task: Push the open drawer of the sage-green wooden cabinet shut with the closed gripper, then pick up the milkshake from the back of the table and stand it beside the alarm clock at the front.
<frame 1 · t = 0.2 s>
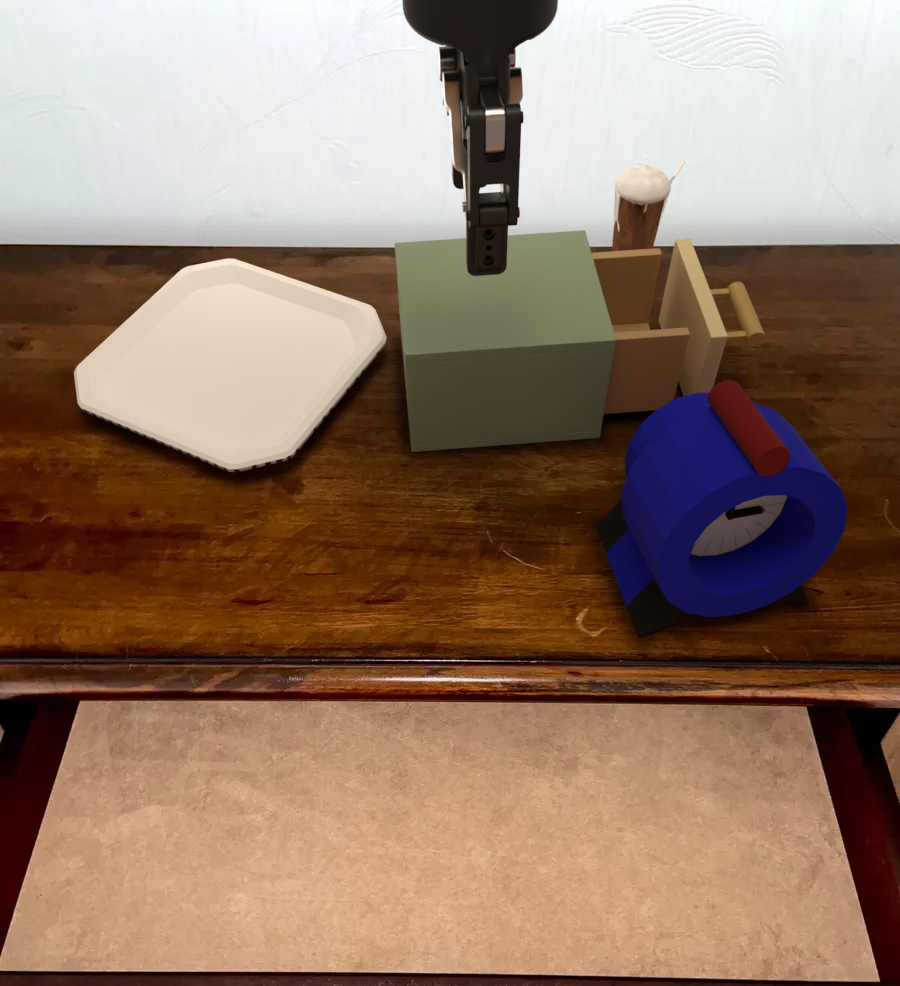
hand: (477, 226, 56), 20 cm above the table, tool pointing down, fingers open, 8 cm apart
cabinet: (496, 388, 76), on the table
alarm clock: (696, 558, 67), on the table
drawer: (638, 331, 73), point 5 cm above the table, slide at 7.0 cm
plate: (237, 374, 78), on the table
milkshake: (633, 269, 85), on the table
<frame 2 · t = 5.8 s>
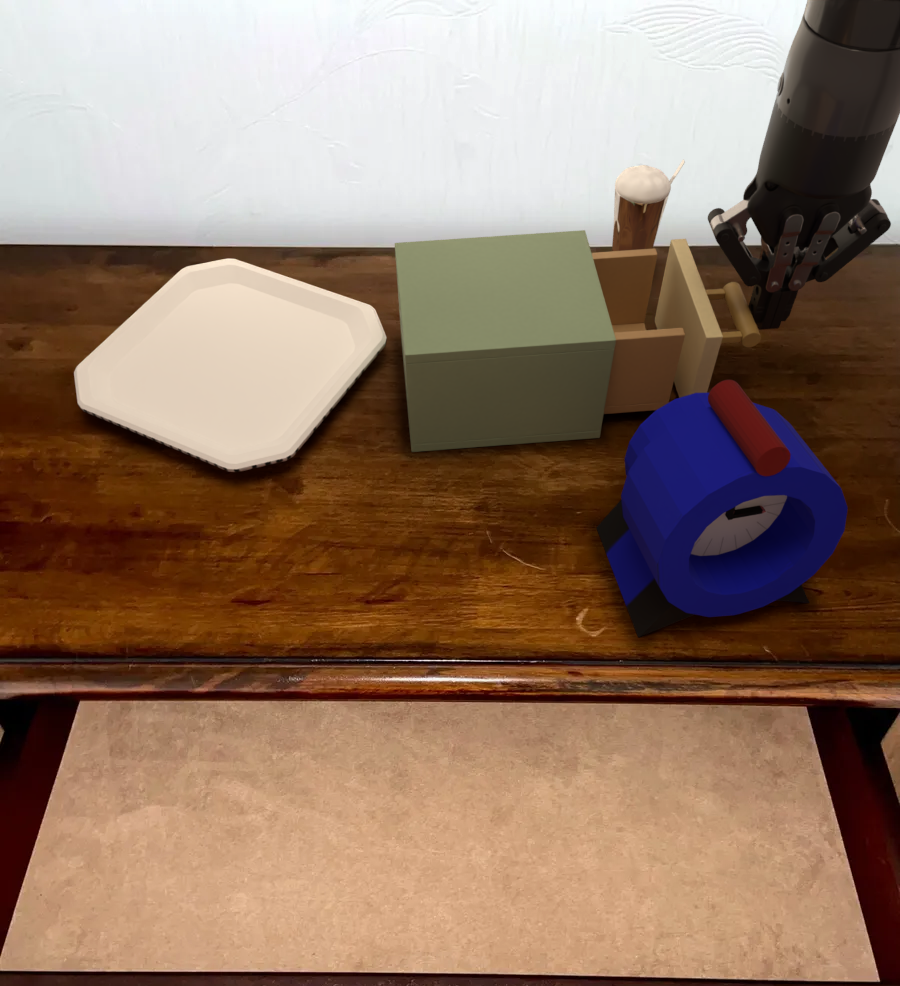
hand: (765, 322, 73), 5 cm above the table, tool pointing down, fingers closed
drawer: (633, 331, 73), point 5 cm above the table, slide at 6.6 cm, touching gripper
everything else where it was.
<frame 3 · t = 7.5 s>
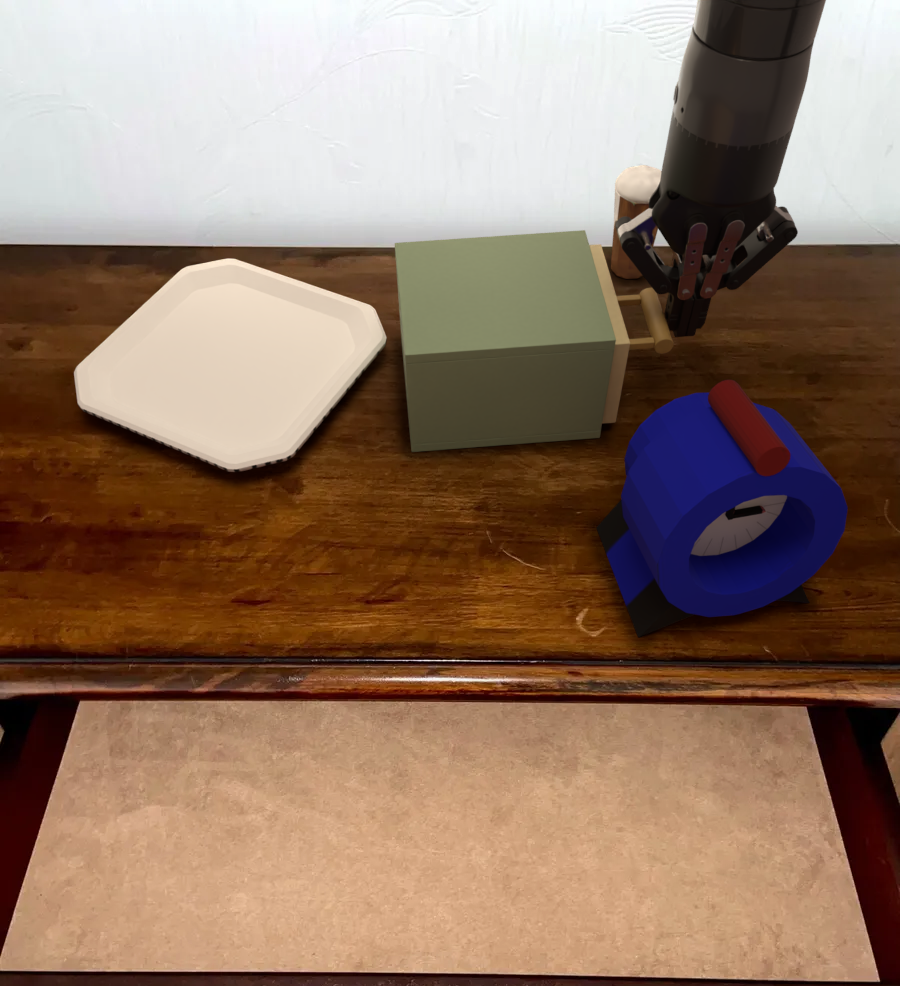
hand: (682, 329, 73), 5 cm above the table, tool pointing down, fingers closed
drawer: (548, 337, 73), point 5 cm above the table, slide at 0.0 cm, touching gripper
everything else where it was.
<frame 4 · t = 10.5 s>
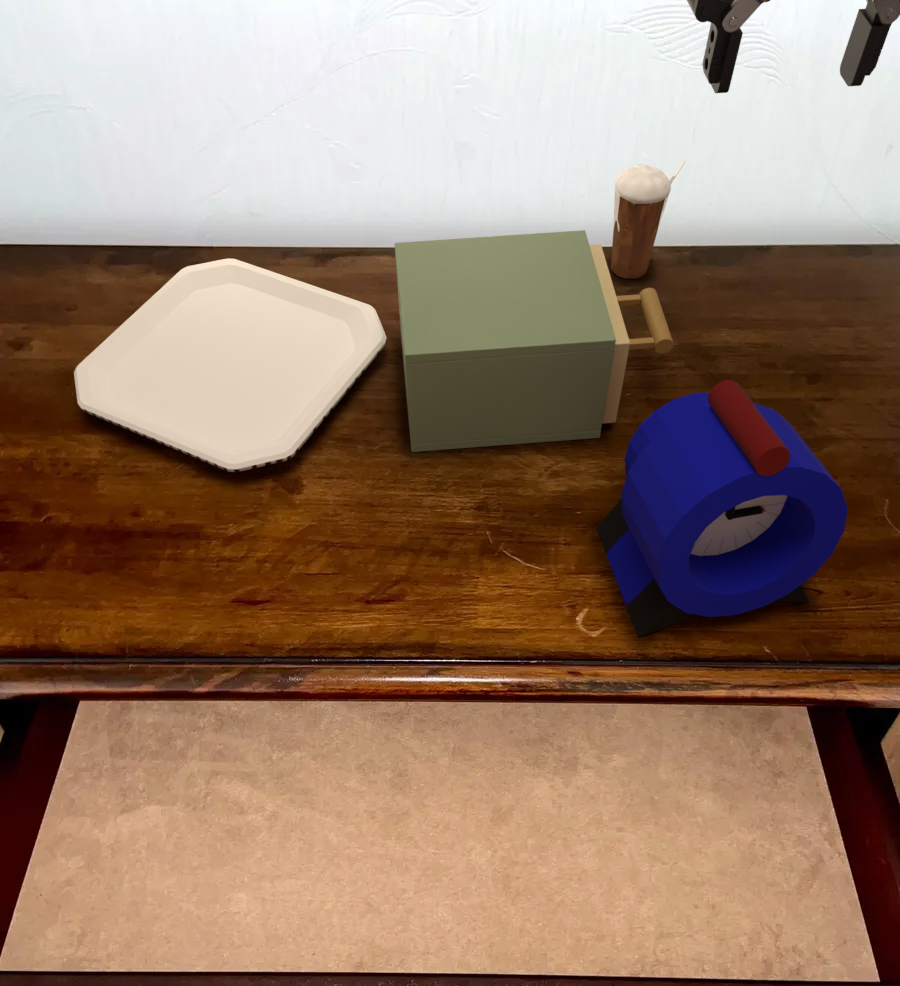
hand: (784, 83, 59), 22 cm above the table, tool pointing down, fingers open, 8 cm apart
drawer: (548, 337, 73), point 5 cm above the table, slide at 0.0 cm
everything else where it was.
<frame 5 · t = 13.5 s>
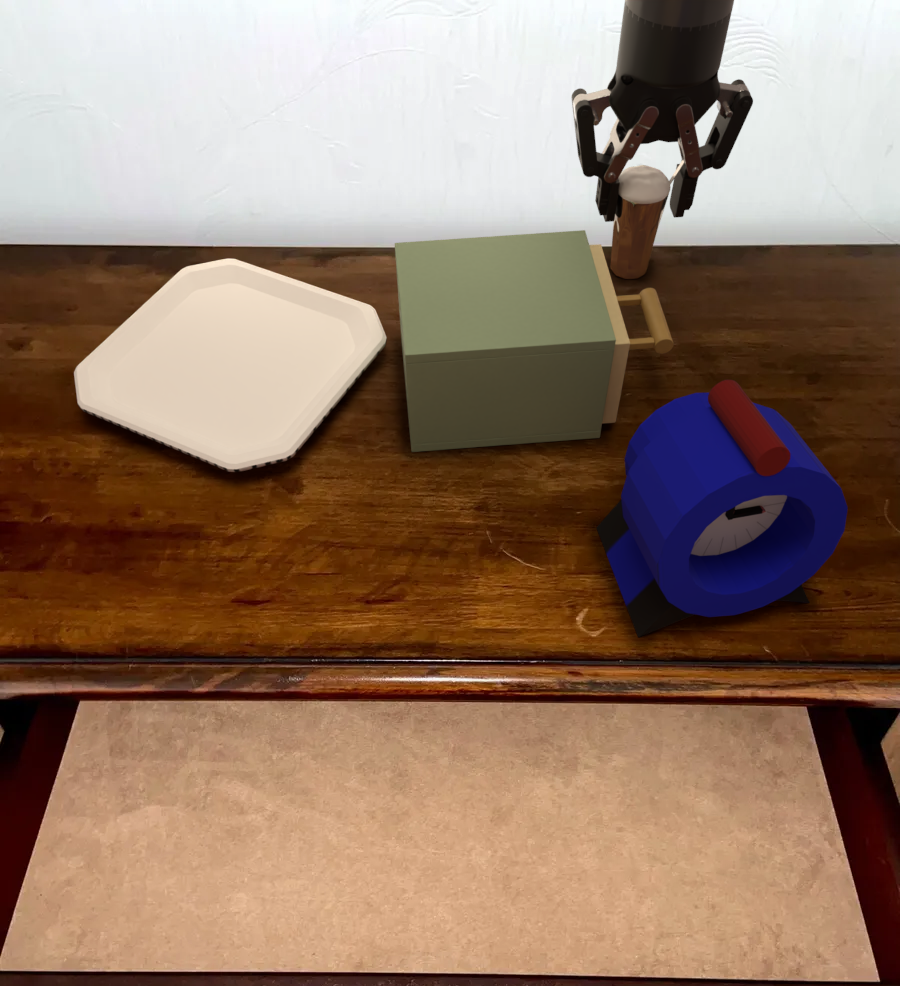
hand: (642, 213, 80), 5 cm above the table, tool pointing down, fingers closed on milkshake, 5 cm apart
milkshake: (632, 269, 85), on the table, touching gripper
everything else where it was.
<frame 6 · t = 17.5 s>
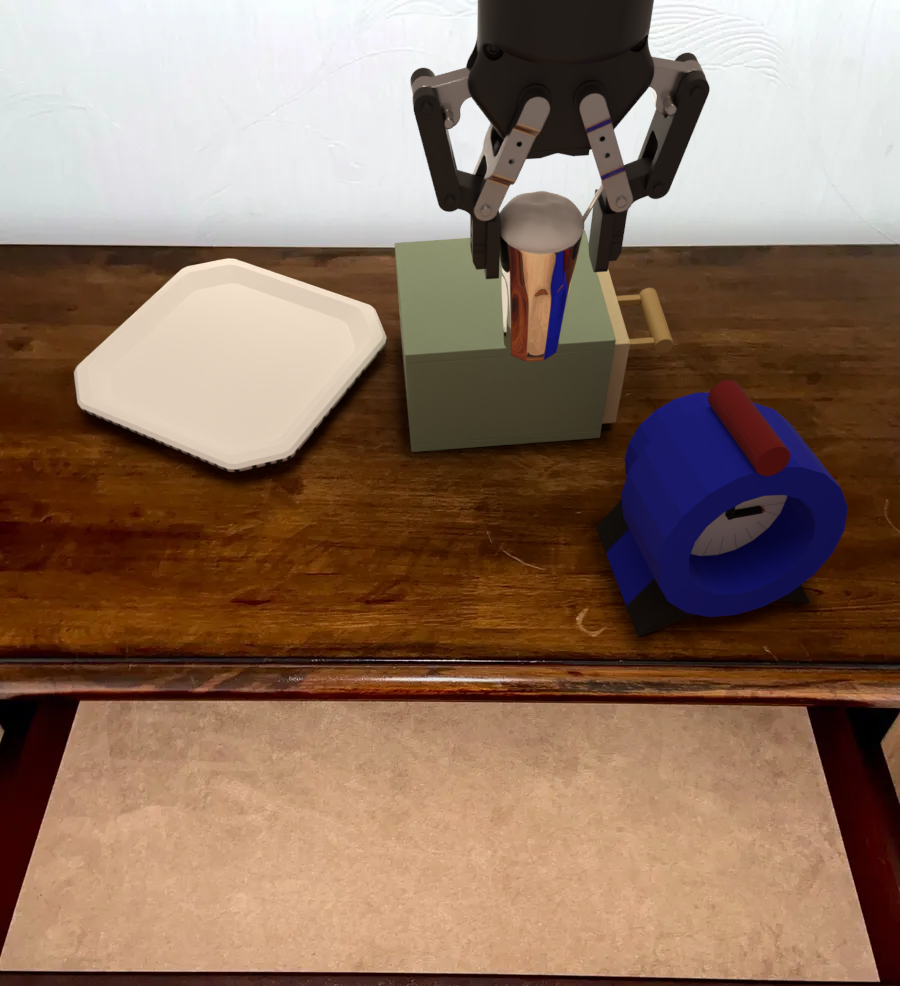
hand: (544, 265, 52), 21 cm above the table, tool pointing down, fingers closed on milkshake, 5 cm apart
milkshake: (538, 346, 56), point 15 cm above the table, touching gripper
everything else where it was.
when the fingers open (5 cm above the table, at t = 21.7 s): milkshake stays where it is, on the table.
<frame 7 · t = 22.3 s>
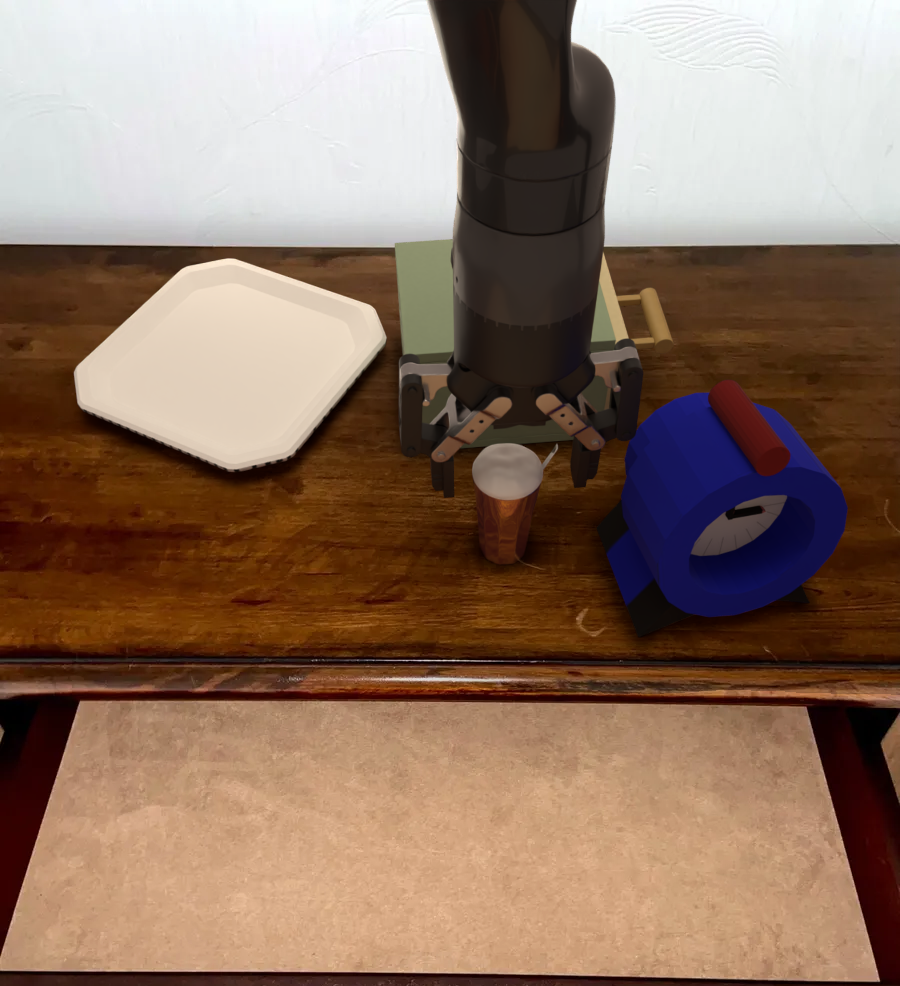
hand: (513, 483, 62), 7 cm above the table, tool pointing down, fingers open, 8 cm apart
milkshake: (508, 548, 67), on the table
everything else where it was.
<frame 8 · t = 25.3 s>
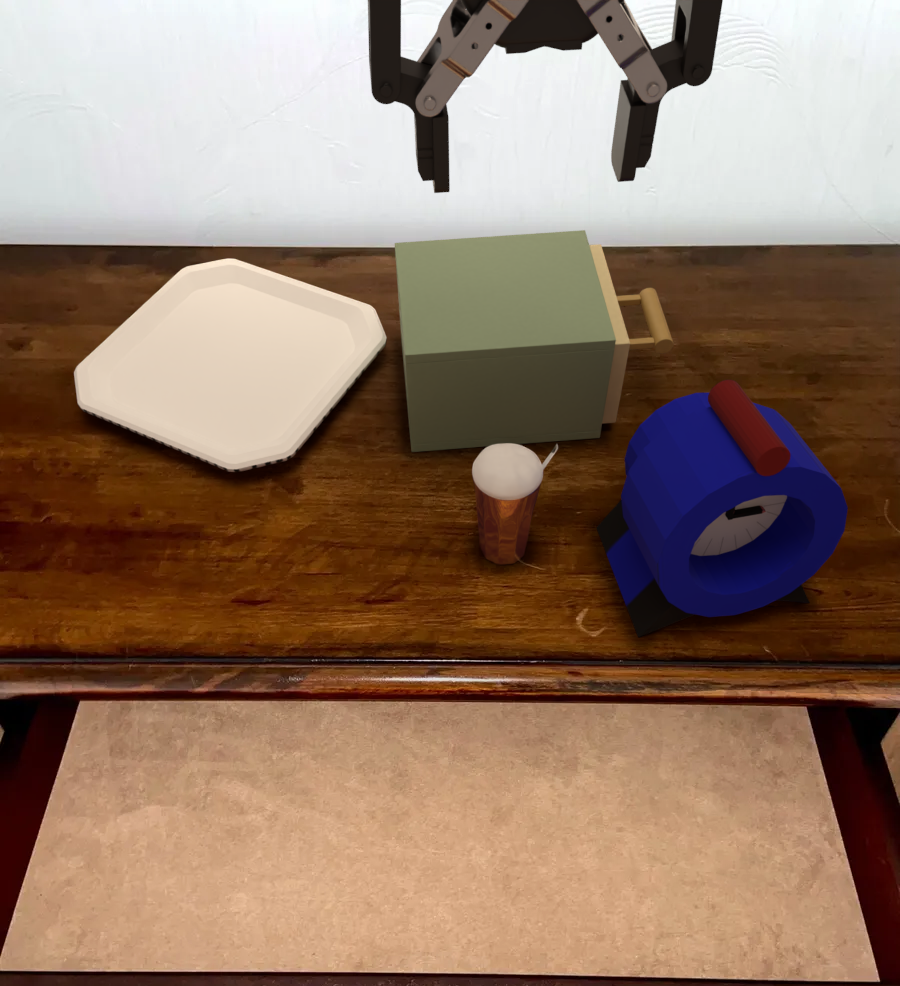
hand: (531, 177, 44), 28 cm above the table, tool pointing down, fingers open, 8 cm apart
nothing on the table moved.
at the end: drawer slide at 0.0 cm; milkshake 13.2 cm from the alarm clock (horizontally); milkshake tilted 0° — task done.
